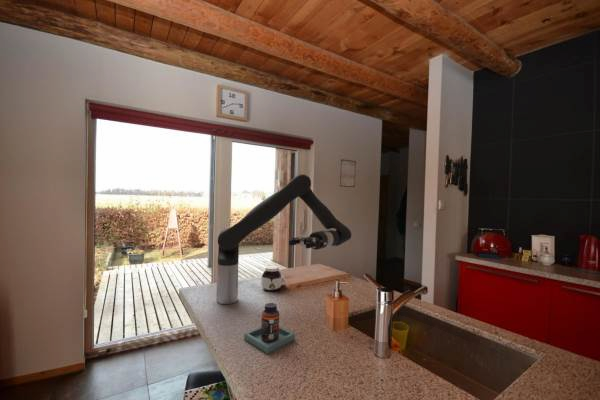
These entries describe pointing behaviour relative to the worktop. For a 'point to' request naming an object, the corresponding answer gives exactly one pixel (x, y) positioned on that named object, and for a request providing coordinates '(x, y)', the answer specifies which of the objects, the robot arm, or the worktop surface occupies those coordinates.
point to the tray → (269, 347)
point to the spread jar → (272, 279)
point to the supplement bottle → (270, 323)
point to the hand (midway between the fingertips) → (297, 244)
